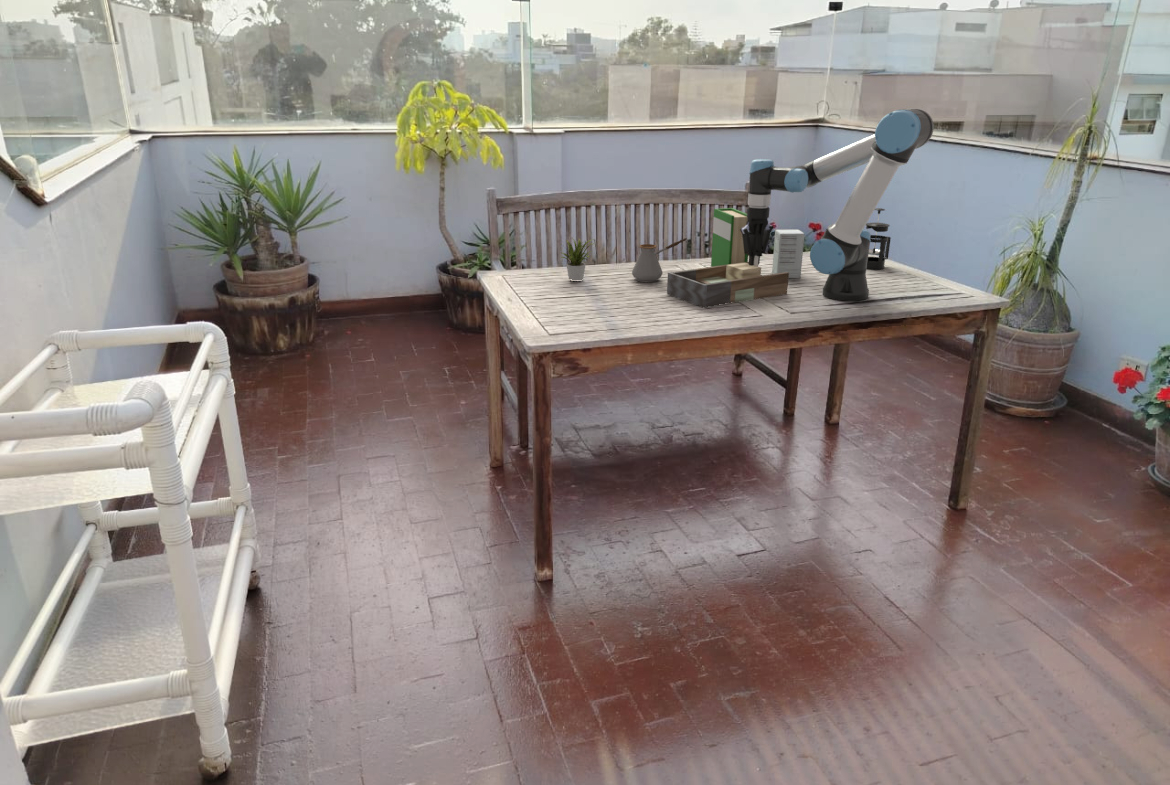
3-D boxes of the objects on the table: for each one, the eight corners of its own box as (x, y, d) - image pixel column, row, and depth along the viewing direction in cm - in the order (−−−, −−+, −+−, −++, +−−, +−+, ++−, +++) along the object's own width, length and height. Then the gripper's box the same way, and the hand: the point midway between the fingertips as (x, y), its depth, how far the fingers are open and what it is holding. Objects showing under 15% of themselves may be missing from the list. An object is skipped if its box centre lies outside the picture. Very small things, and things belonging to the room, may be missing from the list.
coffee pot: (636, 284, 292) (637, 243, 287) (627, 277, 302) (628, 237, 297) (691, 281, 296) (693, 240, 291) (681, 274, 307) (683, 235, 301)
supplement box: (801, 278, 300) (805, 233, 294) (776, 278, 300) (780, 233, 294) (795, 272, 309) (799, 229, 302) (771, 272, 309) (774, 229, 303)
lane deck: (786, 294, 278) (788, 272, 275) (703, 307, 262) (704, 285, 259) (747, 281, 295) (749, 261, 292) (667, 293, 279) (667, 272, 276)
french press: (868, 270, 311) (875, 211, 303) (853, 265, 320) (860, 207, 311) (893, 268, 315) (901, 209, 306) (877, 263, 323) (885, 206, 315)
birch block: (760, 281, 278) (761, 267, 277) (741, 284, 275) (742, 269, 273) (743, 276, 286) (744, 262, 284) (725, 278, 282) (726, 264, 280)
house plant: (605, 278, 300) (605, 235, 295) (588, 286, 289) (588, 241, 283) (571, 274, 307) (571, 232, 301) (553, 282, 295) (553, 238, 289)
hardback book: (746, 280, 297) (751, 215, 289) (727, 281, 296) (731, 215, 287) (728, 270, 313) (732, 208, 305) (710, 271, 312) (714, 208, 303)
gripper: (766, 203, 279) (760, 269, 288) (736, 206, 273) (731, 273, 282) (780, 206, 273) (774, 274, 282) (750, 209, 267) (745, 278, 276)
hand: (753, 274), depth 282 cm, fingers closed
